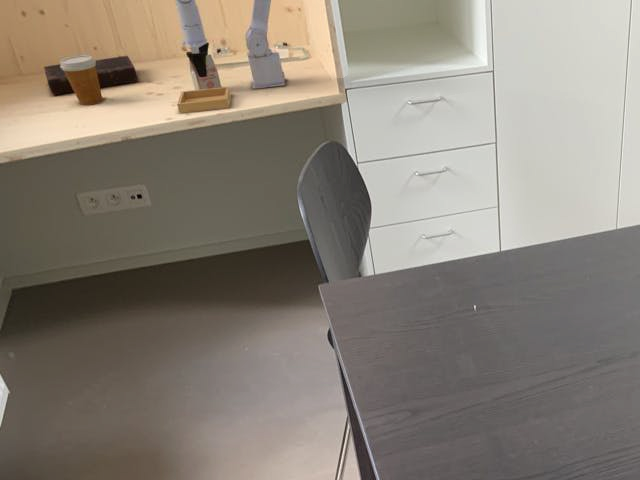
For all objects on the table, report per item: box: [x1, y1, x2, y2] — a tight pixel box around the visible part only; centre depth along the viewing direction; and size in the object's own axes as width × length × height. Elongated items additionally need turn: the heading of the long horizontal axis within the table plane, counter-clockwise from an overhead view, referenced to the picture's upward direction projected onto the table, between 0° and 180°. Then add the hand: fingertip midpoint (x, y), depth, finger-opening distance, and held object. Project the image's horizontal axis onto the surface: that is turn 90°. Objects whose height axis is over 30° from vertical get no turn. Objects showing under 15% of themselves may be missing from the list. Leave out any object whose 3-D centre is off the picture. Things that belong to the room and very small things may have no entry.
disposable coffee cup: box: [60, 54, 103, 106], centre depth 230 cm, size 10×10×12 cm
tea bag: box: [188, 53, 222, 90], centre depth 235 cm, size 4×7×10 cm, turn 132°
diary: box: [43, 55, 140, 96], centre depth 249 cm, size 19×25×5 cm
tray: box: [176, 86, 232, 114], centre depth 227 cm, size 14×13×2 cm
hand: (204, 73), depth 234 cm, fingers open, 7 cm apart
